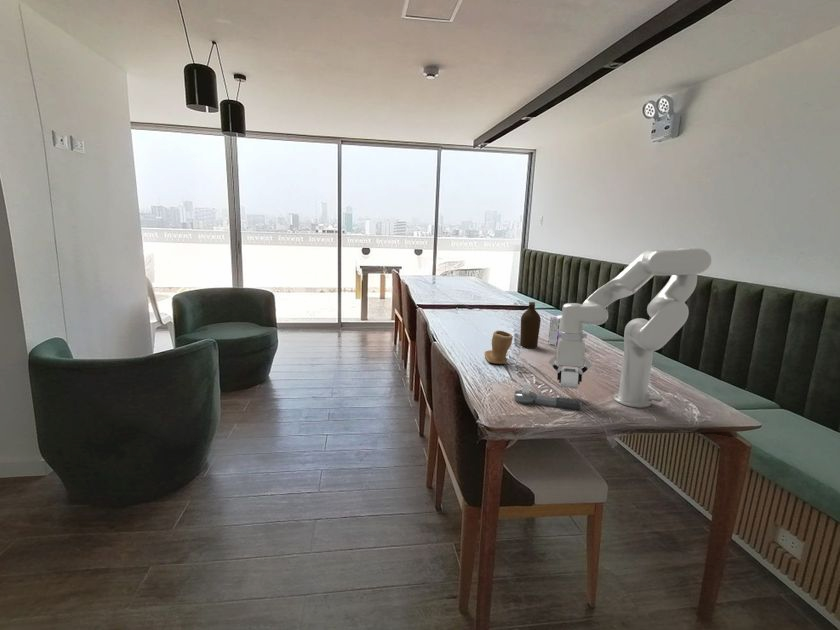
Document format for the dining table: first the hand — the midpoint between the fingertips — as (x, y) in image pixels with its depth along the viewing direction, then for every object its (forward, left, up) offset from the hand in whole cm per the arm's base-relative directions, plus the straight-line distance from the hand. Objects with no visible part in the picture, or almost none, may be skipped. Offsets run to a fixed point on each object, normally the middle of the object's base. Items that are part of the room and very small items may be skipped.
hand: (569, 382), depth 160 cm
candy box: (+4, -87, -6) cm, 87 cm away
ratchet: (+7, +10, -6) cm, 14 cm away
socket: (0, 0, -1) cm, 1 cm away
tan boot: (+32, -37, -6) cm, 49 cm away
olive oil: (+20, -73, -6) cm, 76 cm away
